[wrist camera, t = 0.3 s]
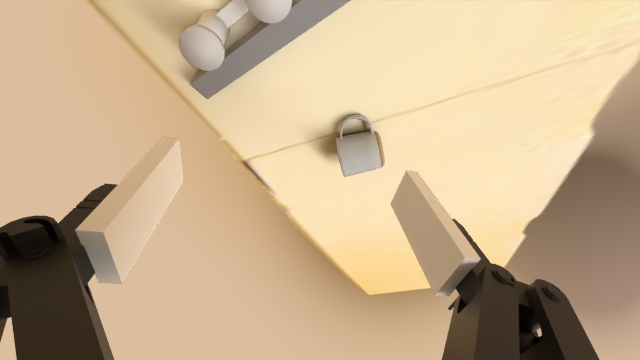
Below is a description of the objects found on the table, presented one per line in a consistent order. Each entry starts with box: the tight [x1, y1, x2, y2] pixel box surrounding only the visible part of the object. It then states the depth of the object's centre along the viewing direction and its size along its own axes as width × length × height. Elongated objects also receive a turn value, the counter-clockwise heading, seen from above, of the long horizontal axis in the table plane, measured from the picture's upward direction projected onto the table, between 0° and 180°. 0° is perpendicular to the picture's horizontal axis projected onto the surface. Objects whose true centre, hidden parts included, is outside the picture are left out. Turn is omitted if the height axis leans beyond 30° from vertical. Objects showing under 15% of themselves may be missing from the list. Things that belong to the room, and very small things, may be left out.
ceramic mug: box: [336, 114, 385, 177], centre depth 47 cm, size 11×8×8 cm
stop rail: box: [179, 0, 350, 99], centre depth 31 cm, size 26×8×7 cm, turn 122°
